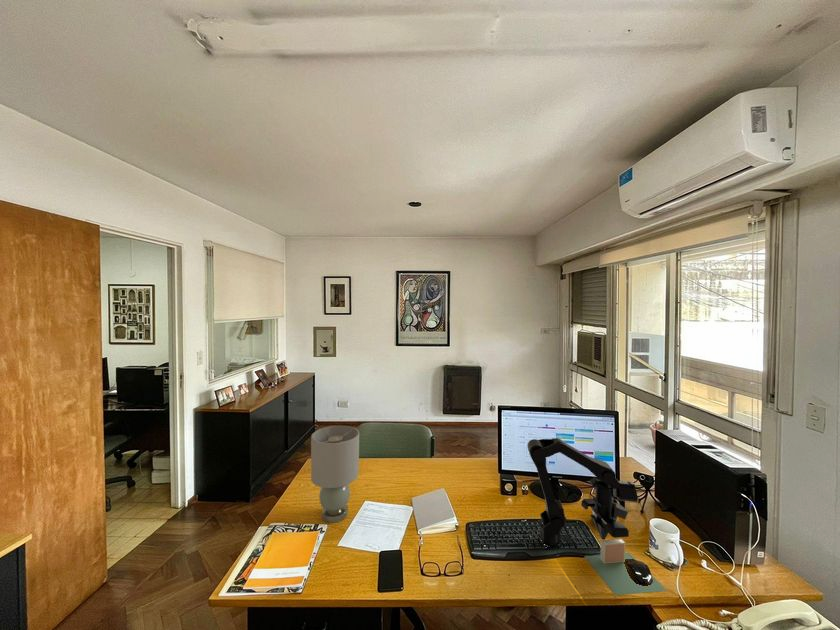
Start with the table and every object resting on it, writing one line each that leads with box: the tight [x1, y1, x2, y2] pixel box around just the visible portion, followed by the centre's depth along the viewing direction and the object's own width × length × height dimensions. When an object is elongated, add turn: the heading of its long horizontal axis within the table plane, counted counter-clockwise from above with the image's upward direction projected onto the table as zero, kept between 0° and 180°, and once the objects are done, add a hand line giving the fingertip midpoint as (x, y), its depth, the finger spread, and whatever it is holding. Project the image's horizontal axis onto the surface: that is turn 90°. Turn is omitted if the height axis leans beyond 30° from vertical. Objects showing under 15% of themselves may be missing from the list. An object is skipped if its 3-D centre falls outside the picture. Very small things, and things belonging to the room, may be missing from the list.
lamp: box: [310, 425, 360, 524], centre depth 138 cm, size 20×20×35 cm
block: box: [599, 538, 626, 563], centre depth 115 cm, size 8×2×7 cm, turn 96°
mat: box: [583, 552, 668, 596], centre depth 110 cm, size 18×16×1 cm
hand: (602, 538), depth 120 cm, fingers closed
